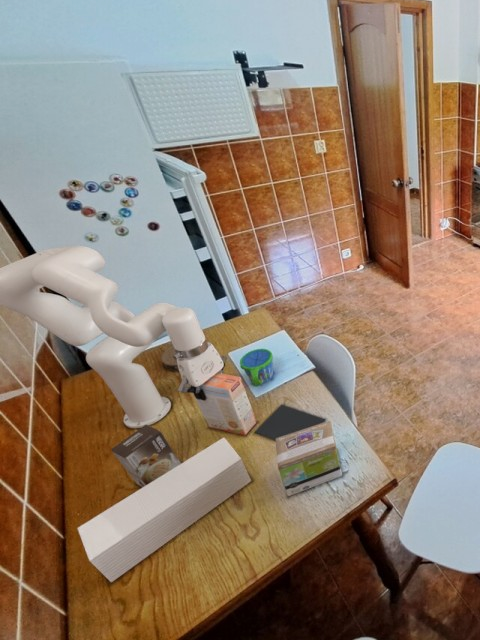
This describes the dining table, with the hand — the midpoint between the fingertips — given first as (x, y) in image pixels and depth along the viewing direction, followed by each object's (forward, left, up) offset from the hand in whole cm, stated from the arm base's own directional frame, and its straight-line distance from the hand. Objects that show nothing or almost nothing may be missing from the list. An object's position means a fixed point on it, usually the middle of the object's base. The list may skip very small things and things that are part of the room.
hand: (211, 390), depth 121 cm
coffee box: (-2, -20, -15) cm, 26 cm away
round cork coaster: (-40, +19, -15) cm, 47 cm away
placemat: (+21, +6, -15) cm, 27 cm away
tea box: (+39, -5, -15) cm, 42 cm away
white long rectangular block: (+13, -26, -15) cm, 33 cm away
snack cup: (-4, +20, -15) cm, 25 cm away
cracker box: (+3, 0, -15) cm, 16 cm away
